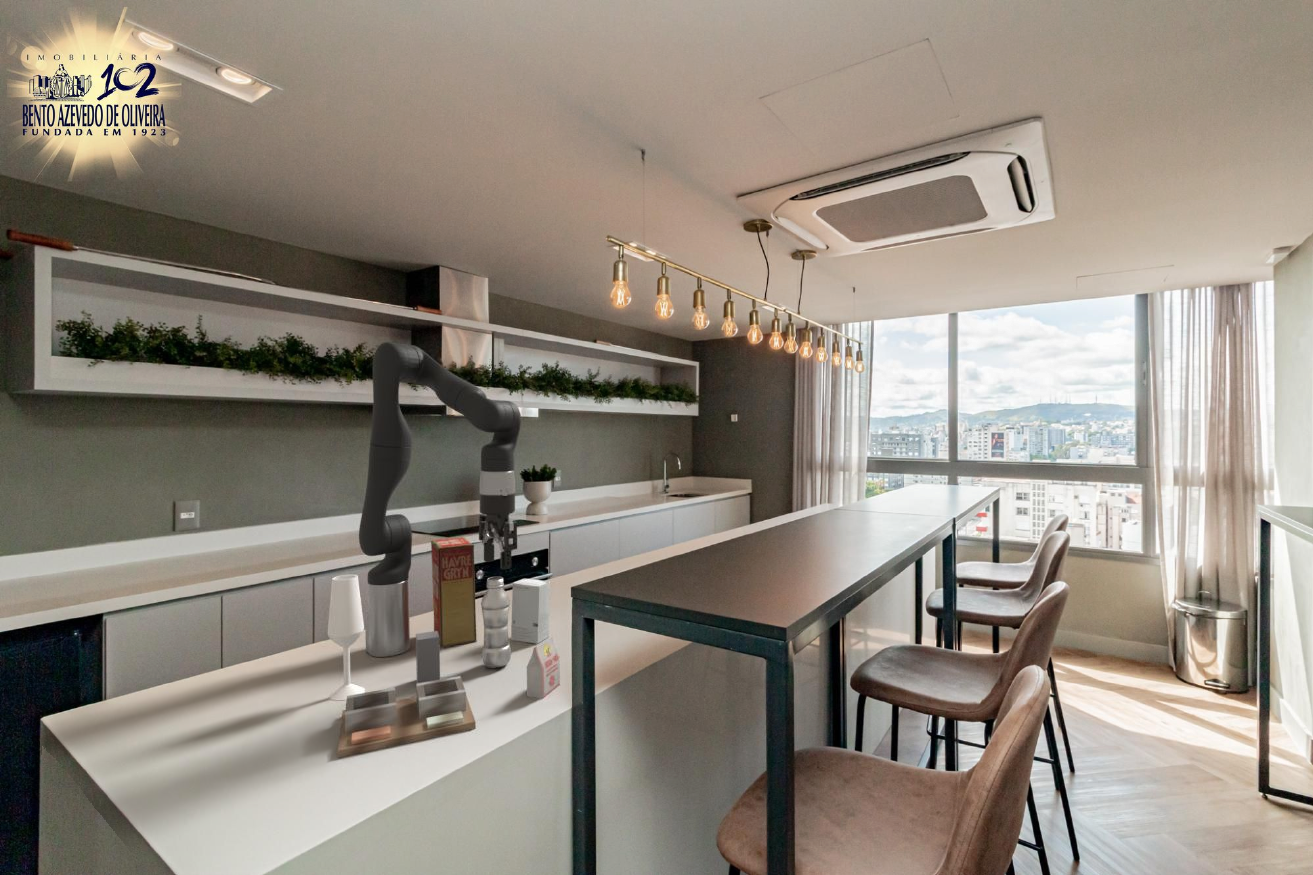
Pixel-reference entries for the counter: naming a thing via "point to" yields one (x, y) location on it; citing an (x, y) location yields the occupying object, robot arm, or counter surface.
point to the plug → (427, 656)
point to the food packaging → (454, 591)
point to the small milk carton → (543, 670)
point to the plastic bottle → (495, 624)
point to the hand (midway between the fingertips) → (497, 564)
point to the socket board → (404, 716)
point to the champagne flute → (345, 626)
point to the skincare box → (530, 611)
